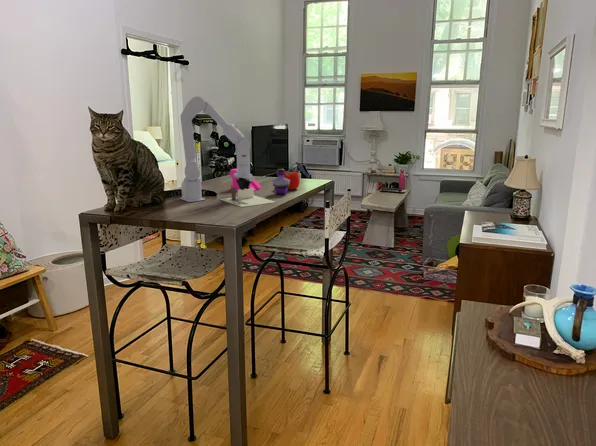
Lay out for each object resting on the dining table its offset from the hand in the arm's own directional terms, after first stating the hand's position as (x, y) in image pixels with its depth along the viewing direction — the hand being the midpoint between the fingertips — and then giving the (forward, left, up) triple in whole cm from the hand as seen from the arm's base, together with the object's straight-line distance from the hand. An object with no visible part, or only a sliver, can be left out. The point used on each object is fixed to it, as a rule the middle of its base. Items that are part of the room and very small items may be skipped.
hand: (244, 195), depth 203 cm
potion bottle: (+1, +19, -2) cm, 20 cm away
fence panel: (+2, 0, -1) cm, 2 cm away
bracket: (-19, +13, -2) cm, 23 cm away
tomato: (-8, +30, -2) cm, 32 cm away
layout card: (+7, -2, -1) cm, 7 cm away
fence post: (+2, -7, -1) cm, 7 cm away
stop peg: (+11, -8, -1) cm, 14 cm away
